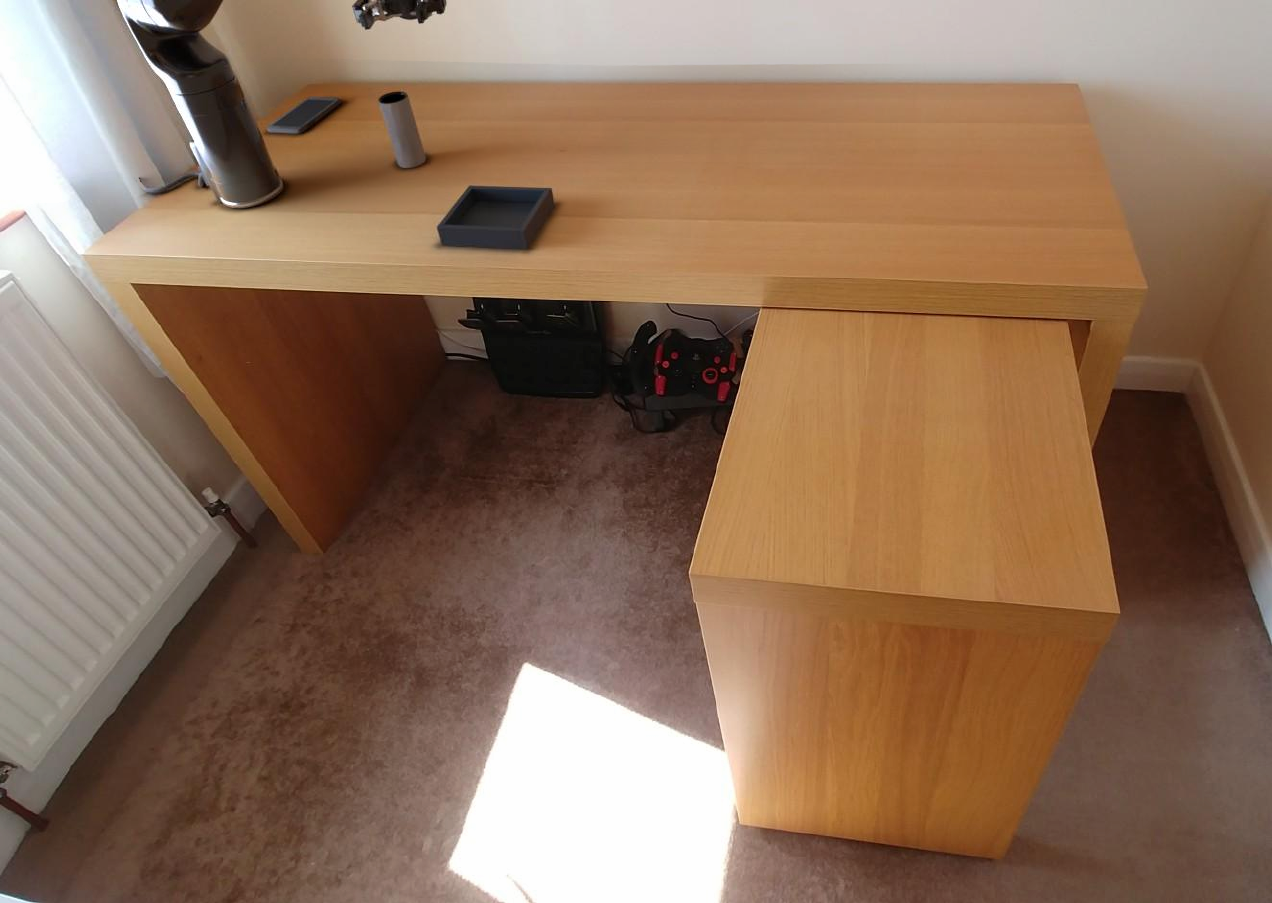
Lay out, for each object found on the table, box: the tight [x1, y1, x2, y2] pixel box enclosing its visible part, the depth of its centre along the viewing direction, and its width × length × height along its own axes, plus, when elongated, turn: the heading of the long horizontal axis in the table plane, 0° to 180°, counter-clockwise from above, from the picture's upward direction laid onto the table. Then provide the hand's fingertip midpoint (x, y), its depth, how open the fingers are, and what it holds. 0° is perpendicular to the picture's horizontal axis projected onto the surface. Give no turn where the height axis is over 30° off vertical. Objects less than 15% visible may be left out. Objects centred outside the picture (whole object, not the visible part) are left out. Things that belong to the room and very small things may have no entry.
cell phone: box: [266, 96, 342, 135], centre depth 150 cm, size 7×14×1 cm, turn 161°
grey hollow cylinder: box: [377, 91, 427, 169], centre depth 129 cm, size 4×4×10 cm
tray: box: [436, 185, 556, 251], centre depth 114 cm, size 13×12×3 cm
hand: (392, 19), depth 128 cm, fingers open, 8 cm apart
